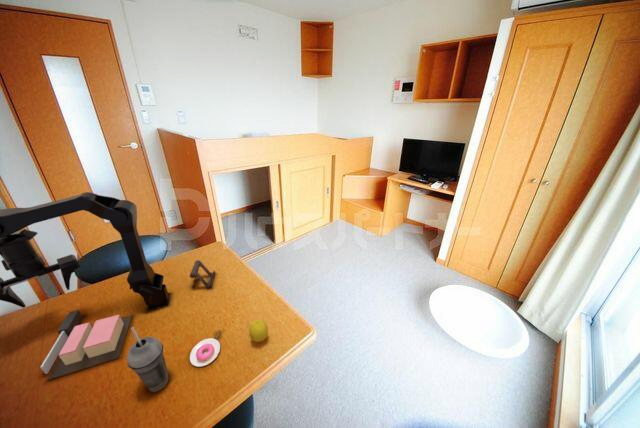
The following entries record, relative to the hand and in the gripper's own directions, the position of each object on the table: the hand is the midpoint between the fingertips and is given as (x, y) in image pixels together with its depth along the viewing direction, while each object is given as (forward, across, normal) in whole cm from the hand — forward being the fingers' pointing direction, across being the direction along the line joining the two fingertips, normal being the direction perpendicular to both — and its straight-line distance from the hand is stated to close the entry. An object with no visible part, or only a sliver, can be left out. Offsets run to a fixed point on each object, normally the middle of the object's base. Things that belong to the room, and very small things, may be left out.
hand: (47, 297), depth 72 cm
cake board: (+13, -5, +15) cm, 20 cm away
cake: (+13, -8, +16) cm, 22 cm away
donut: (+13, -26, +42) cm, 51 cm away
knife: (+13, +1, +7) cm, 15 cm away
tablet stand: (+13, -39, +13) cm, 43 cm away
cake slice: (+13, -2, +13) cm, 18 cm away
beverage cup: (+13, -13, +41) cm, 45 cm away
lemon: (+14, -38, +51) cm, 65 cm away
